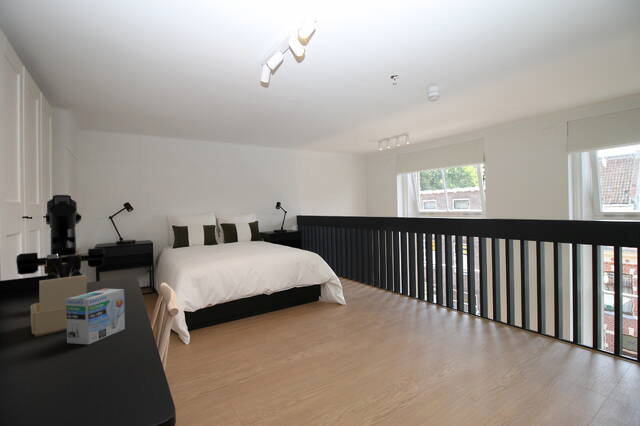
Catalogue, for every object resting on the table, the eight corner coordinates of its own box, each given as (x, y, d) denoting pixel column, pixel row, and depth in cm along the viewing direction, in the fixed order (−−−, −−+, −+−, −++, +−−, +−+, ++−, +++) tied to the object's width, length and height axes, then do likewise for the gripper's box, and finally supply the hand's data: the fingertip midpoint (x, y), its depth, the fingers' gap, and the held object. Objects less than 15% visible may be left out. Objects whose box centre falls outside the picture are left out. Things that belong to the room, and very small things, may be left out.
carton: (30, 325, 87) (30, 304, 87) (85, 314, 95) (85, 295, 96) (32, 337, 77) (31, 313, 77) (93, 324, 86) (92, 302, 86)
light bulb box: (88, 345, 71) (87, 299, 71) (65, 343, 73) (64, 298, 73) (126, 328, 82) (125, 288, 82) (105, 327, 83) (104, 287, 83)
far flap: (39, 280, 77) (39, 281, 77) (86, 274, 84) (86, 275, 84) (39, 310, 78) (39, 311, 78) (86, 302, 85) (86, 303, 85)
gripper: (100, 256, 100) (105, 295, 91) (21, 262, 88) (18, 309, 79) (103, 232, 94) (108, 272, 85) (17, 236, 82) (14, 283, 73)
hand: (64, 284), depth 81 cm, fingers closed, pressing on far flap
